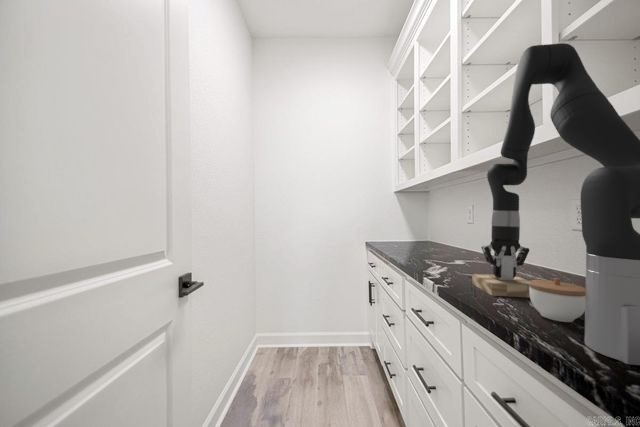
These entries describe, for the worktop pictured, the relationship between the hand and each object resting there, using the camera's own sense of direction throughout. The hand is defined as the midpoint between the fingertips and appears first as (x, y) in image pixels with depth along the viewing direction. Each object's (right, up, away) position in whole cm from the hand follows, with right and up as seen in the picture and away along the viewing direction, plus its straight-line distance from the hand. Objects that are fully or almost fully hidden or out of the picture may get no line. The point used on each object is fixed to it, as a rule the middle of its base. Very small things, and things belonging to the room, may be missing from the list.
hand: (504, 277), depth 88 cm
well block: (0, -4, 0) cm, 4 cm away
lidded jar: (-3, -4, -23) cm, 23 cm away
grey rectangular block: (0, -3, 0) cm, 3 cm away
